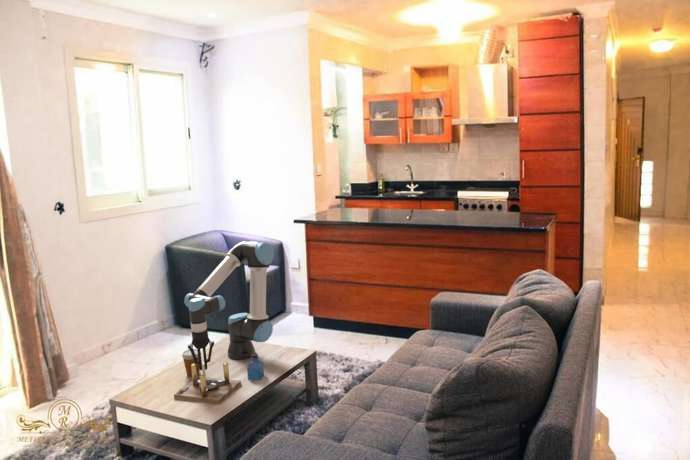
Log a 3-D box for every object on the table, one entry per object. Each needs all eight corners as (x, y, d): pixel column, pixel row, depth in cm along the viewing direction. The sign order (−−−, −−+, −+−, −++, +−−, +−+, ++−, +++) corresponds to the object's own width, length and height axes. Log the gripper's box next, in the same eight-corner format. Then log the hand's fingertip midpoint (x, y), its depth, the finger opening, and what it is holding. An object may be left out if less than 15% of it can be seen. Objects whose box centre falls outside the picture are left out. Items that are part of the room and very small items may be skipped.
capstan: (179, 390, 273) (177, 371, 271) (206, 375, 288) (205, 357, 287) (204, 396, 265) (202, 377, 263) (230, 381, 280) (229, 363, 279)
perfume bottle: (259, 380, 286) (258, 357, 284) (248, 379, 288) (246, 357, 286) (264, 375, 292) (262, 352, 290) (252, 374, 294) (251, 352, 292)
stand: (198, 379, 290) (197, 372, 289) (241, 384, 282) (240, 377, 282) (174, 398, 270) (173, 391, 269) (219, 404, 263) (218, 396, 262)
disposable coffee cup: (202, 369, 302) (200, 347, 300) (202, 376, 293) (200, 354, 291) (184, 371, 300) (182, 350, 298) (183, 379, 291) (181, 356, 289)
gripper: (213, 325, 282) (217, 371, 286) (186, 329, 280) (191, 374, 284) (213, 330, 275) (217, 377, 279) (185, 334, 273) (190, 380, 276)
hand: (204, 375), depth 281 cm, fingers closed
